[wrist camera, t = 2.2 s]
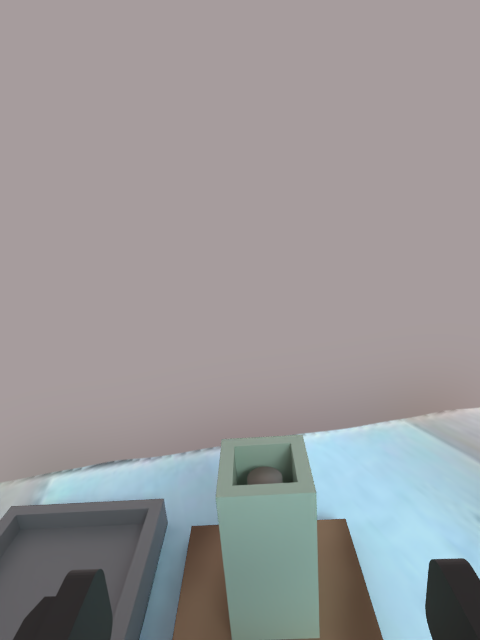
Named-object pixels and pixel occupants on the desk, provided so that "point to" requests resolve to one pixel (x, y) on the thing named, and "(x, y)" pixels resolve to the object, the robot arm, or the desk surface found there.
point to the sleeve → (269, 539)
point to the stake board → (333, 583)
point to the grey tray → (80, 556)
